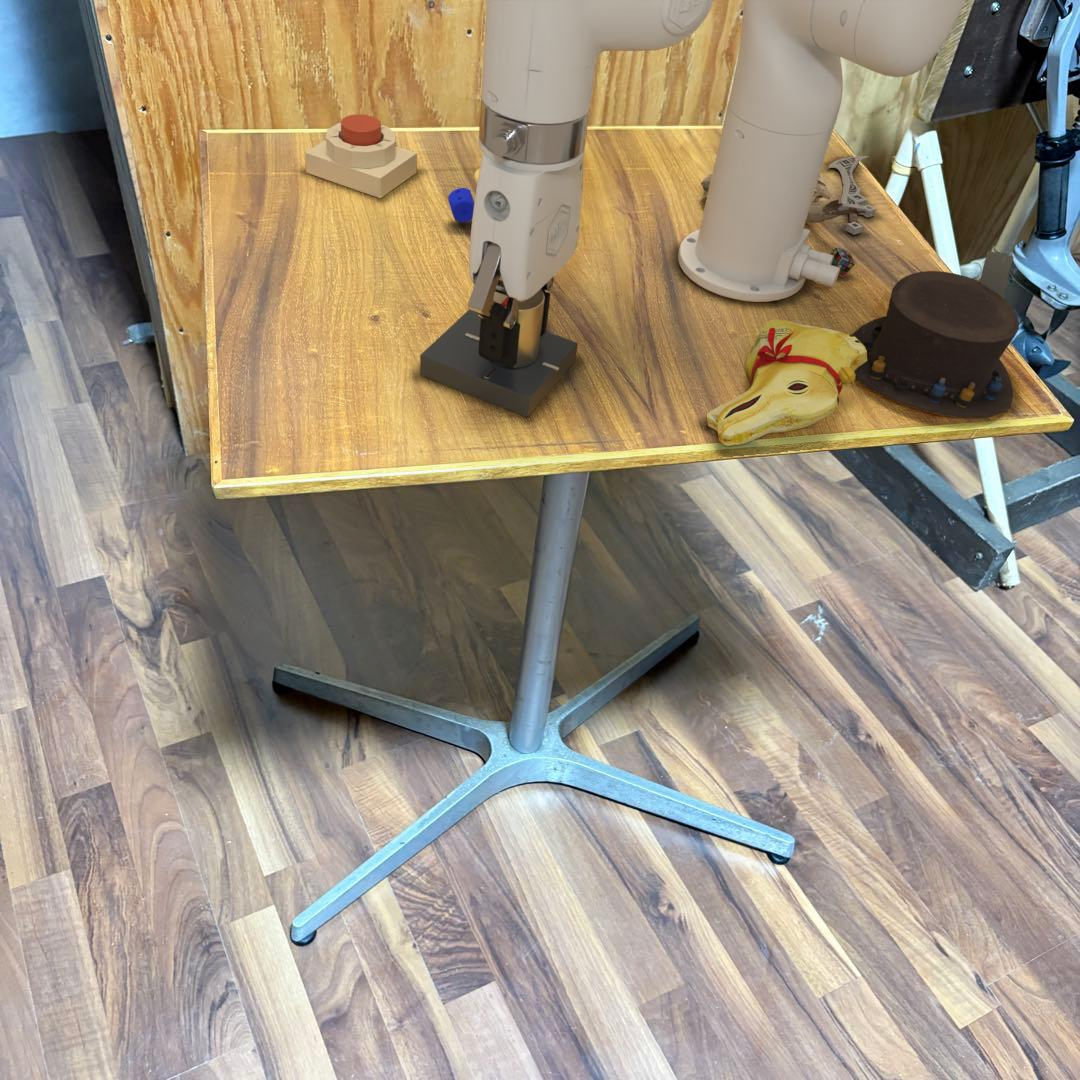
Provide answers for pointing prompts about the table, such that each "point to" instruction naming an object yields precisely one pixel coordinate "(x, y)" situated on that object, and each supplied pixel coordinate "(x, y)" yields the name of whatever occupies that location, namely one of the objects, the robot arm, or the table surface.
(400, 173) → the button base
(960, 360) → the top hat
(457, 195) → the dice
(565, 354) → the dial panel
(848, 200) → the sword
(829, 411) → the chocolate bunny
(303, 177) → the table surface
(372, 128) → the red push button
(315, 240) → the table surface
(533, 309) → the temp dial
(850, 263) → the prawn
